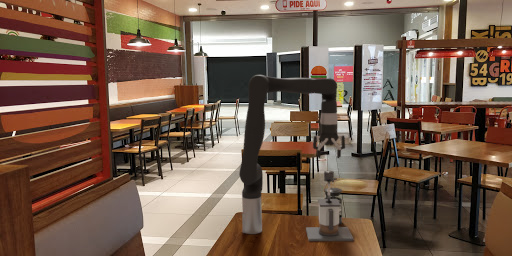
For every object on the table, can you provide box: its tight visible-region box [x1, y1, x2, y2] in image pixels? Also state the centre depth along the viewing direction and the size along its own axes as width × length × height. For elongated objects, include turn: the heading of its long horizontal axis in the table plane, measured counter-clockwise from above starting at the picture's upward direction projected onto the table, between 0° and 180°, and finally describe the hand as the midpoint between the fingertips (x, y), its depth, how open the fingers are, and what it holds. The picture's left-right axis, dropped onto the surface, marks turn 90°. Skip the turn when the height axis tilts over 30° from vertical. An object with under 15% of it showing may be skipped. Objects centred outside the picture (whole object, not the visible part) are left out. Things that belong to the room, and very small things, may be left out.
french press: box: [323, 177, 343, 226], centre depth 204 cm, size 12×9×23 cm
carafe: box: [317, 198, 341, 237], centre depth 186 cm, size 9×12×15 cm
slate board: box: [305, 226, 354, 242], centre depth 189 cm, size 20×14×1 cm
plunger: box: [323, 170, 335, 203], centre depth 186 cm, size 4×4×15 cm
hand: (328, 158), depth 184 cm, fingers open, 8 cm apart
